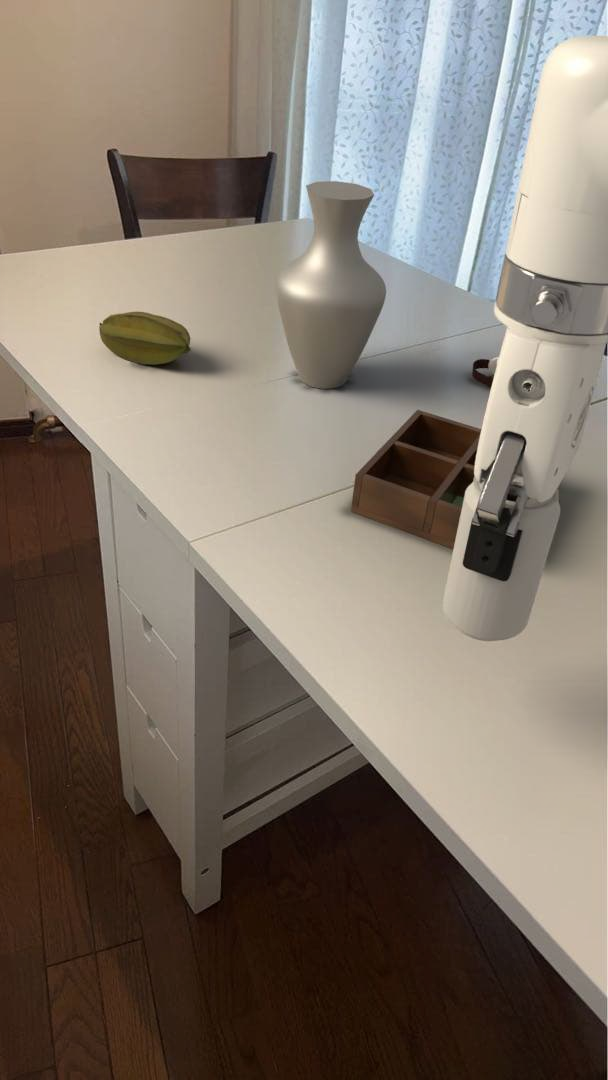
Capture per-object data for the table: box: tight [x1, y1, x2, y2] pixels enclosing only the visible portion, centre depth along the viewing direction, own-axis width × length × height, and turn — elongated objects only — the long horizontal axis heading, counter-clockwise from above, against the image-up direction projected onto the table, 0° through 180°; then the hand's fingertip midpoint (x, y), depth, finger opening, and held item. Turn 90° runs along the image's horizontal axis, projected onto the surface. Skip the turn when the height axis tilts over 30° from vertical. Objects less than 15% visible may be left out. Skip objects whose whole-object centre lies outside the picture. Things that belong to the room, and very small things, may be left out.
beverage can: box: [442, 475, 561, 642], centre depth 57 cm, size 6×6×12 cm
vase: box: [274, 180, 387, 390], centre depth 104 cm, size 14×14×25 cm
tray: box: [350, 409, 482, 550], centre depth 88 cm, size 17×17×5 cm
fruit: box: [98, 311, 192, 366], centre depth 110 cm, size 11×12×7 cm
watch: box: [471, 356, 499, 388], centre depth 113 cm, size 8×5×4 cm, turn 70°
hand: (502, 543), depth 56 cm, fingers closed on beverage can, 6 cm apart
